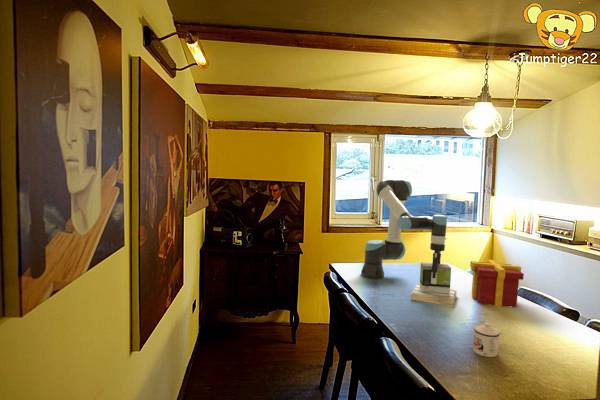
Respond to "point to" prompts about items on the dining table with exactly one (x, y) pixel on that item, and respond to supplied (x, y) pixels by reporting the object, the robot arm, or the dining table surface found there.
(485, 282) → the gift box
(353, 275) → the dining table surface
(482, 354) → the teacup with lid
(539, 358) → the dining table surface
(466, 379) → the dining table surface
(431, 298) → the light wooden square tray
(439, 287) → the tea box
